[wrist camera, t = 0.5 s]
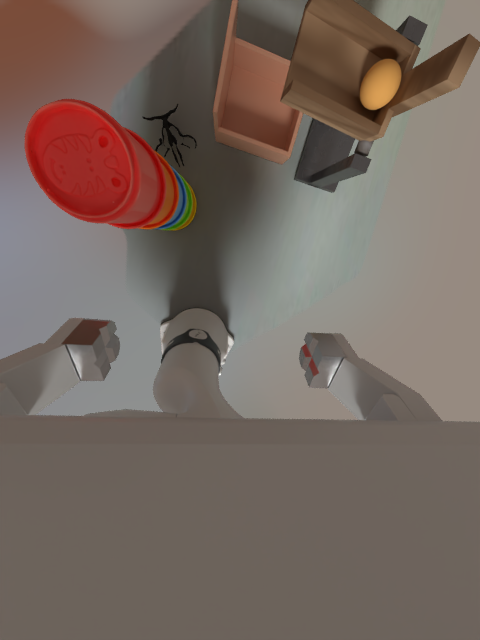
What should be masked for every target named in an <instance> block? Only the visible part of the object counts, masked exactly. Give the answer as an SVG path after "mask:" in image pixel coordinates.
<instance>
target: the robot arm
mask: <svg viewBox="0 0 480 640" xmlns="http://www.w3.org/2000/svg"><path fill="white" fill-rule="evenodd" d="M115 331H116V325H115V322H113V321H110V320H98V319H84V318H71V319H69V320H68V321H67V322H66V323H65V324H63V326H61V327H60V328H59V329H58V331H57V332H55V333H54V334H53V335H52V336H51V337H50V338H49V339H48V340H47V341H46V342H45V343H44V344H42V343H39V344H37V345H34V346H32V347H30V348H27V349H25V350H22V351H20V352H18V353H15V354H13V355H10V356H8V357H6V358H3V359H1V360H0V640H480V422H454V421H442V420H441V419H440V417H439V416H438V415H437V414H436V413H435V412H434V410H433V409H432V408H431V407H430V406H429V404H428V403H427V402H426V401H425V400H424V398H423V397H422V396H421V395H420V394H419V393H417V392H415V391H414V390H412V389H411V388H409V387H407V386H406V385H404V384H402V383H401V382H399V381H398V380H396V379H394V378H393V377H391V376H390V375H388V374H387V373H385V372H383V371H382V370H380V369H378V368H377V367H375V366H373V365H372V364H371V363H369V362H367V361H366V360H364V359H360V358H359V357H358V356H357V354H356V353H355V351H354V350H353V349H352V347H351V346H350V344H349V343H348V341H347V340H346V339H345V337H344V336H343V335H342V334H338V333H329V334H328V333H307V334H306V336H305V339H304V340H305V343H306V344H305V345H304V346H303V347H301V350H300V357H299V360H300V364H301V367H302V368H303V369H304V370H305V371H306V373H305V378H306V380H307V383H308V386H309V387H312V388H328V390H329V391H330V392H331V393H332V394H333V395H334V396H335V397H336V398H337V399H338V400H339V401H340V402H341V403H342V404H343V405H344V406H345V407H346V408H347V409H348V410H349V411H350V412H351V413H352V414H353V415H354V416H355V417H356V418H357V419H358V420H324V419H321V420H320V419H254V418H252V419H250V418H243V417H242V416H241V415H239V414H238V413H237V412H236V411H235V410H234V409H233V408H232V407H231V406H230V405H229V404H228V402H227V401H226V400H225V398H224V397H223V395H222V394H221V392H220V389H219V381H218V380H219V379H218V376H220V375H221V372H222V367H221V365H222V364H225V361H226V359H225V358H226V356H227V355H228V353H229V351H230V349H231V347H232V345H233V343H234V338H233V337H232V336H231V335H230V334H229V333H228V332H227V330H226V328H225V325H224V323H223V322H222V320H221V319H220V318H219V317H218V316H217V315H216V314H214V313H213V312H211V311H208V310H205V309H200V308H193V309H188V310H185V311H183V312H181V313H179V314H178V315H177V316H176V317H175V318H174V319H172V320H170V321H167V322H164V323H163V324H161V327H160V334H161V347H162V359H161V366H160V368H159V371H158V373H157V376H156V378H155V381H154V384H153V394H154V397H155V400H156V402H157V404H158V405H159V407H160V409H161V410H162V411H163V412H154V411H141V410H129V409H124V410H114V411H105V412H98V413H90V414H86V415H84V416H53V415H36V414H37V413H39V412H40V411H41V410H43V409H44V408H45V407H47V406H48V405H50V404H51V403H52V402H54V401H55V400H56V399H58V398H59V397H60V396H62V395H63V394H64V393H66V392H67V391H69V390H70V389H71V388H73V387H74V386H75V385H77V384H78V383H79V382H80V381H104V380H105V378H106V376H107V374H108V373H109V371H110V369H111V366H110V363H111V362H113V361H115V360H116V358H117V356H118V354H119V350H120V341H119V338H118V337H117V336H116V335H115V334H114V333H115ZM164 331H165V332H164ZM228 344H229V345H228Z"/></svg>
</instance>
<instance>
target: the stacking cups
mask: <svg viewBox="0 0 480 640" xmlns="http://www.w3.org/2000/svg"><path fill="white" fill-rule="evenodd" d="M25 152H26V158H27V161H28V164H29V167H30V170H31V172H32V174H33V176H34V178H35V180H36V181H37V183H38V184H39V186H40V188H41V189H42V190H43V191H44V192H45V194H46V195H47V196H48V197H49V199H50V200H51V201H53V203H55V204H56V205H57V206H58V207H59V208H61V209H62V210H64V211H65V212H67V213H68V214H70V215H71V216H74V217H75V218H78V219H80V220H83V221H87V222H92V223H107V224H110V225H112V226H115V227H118V228H124V229H135V228H140V229H160V230H171V231H175V230H180V229H183V228H185V227H186V226H188V225H189V224H190V223H191V221H192V220H193V218H194V216H195V213H196V207H197V204H196V197H195V194H194V192H193V190H192V188H191V186H190V185H189V184H188V183H187V182H186V181H185V179H184V178H183V177H182V176H181V175H180V174H179V173H177V171H176V170H175V169H174V168H173V167H172V166H171V165H169V164H168V162H167V161H166V160H165V159H164V158H163V157H162V156H161V155H160V154H158V153H157V152H156V151H154V150H153V149H152V148H151V146H150V145H149V144H148V143H147V142H146V141H145V140H144V139H143V138H141V137H140V136H139V135H138V134H136V133H135V132H133V131H131V130H129V129H127V128H124V127H122V126H121V125H120V124H119V123H118V122H117V121H116V120H115V119H114V118H113V117H111V116H110V115H109V114H108V113H106V112H105V111H103V110H102V109H100V108H98V107H96V106H94V105H92V104H90V103H88V102H85V101H81V100H75V99H62V100H58V101H55V102H51V103H49V104H46V105H44V106H42V107H41V108H39V109H38V110H37V111H36V112H35V114H34V115H33V116H32V118H31V120H30V121H29V123H28V126H27V130H26V133H25Z"/></svg>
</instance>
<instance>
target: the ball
mask: <svg viewBox="0 0 480 640" xmlns="http://www.w3.org/2000/svg"><path fill="white" fill-rule="evenodd" d="M400 82H401V68H400V66H399V64H398V63H397V62H396V61H395V60H393V59H383V60H381V61H379V62H377V63H376V64H374V65H373V66H372V67H371V68H370V69H369V71H368V72H367V73H366V75H365V77H364V78H363V81H362V83H361V87H360V100H361V103H362V105H363V106H364V107H365V108H367V109H369V110H376V109H379V108H381V107H383V106H385V105H386V104H387V103H388V102H390V100H391V99H392V98H393V97H394V95H395V94H396V92H397V90H398V88H399V85H400Z"/></svg>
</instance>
